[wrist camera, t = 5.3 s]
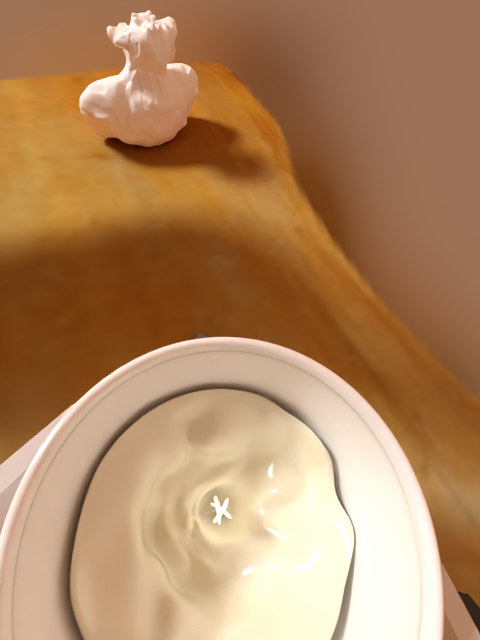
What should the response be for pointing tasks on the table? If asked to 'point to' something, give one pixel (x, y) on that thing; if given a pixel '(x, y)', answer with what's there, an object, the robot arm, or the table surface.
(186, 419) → the candle holder
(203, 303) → the table surface
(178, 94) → the bust
